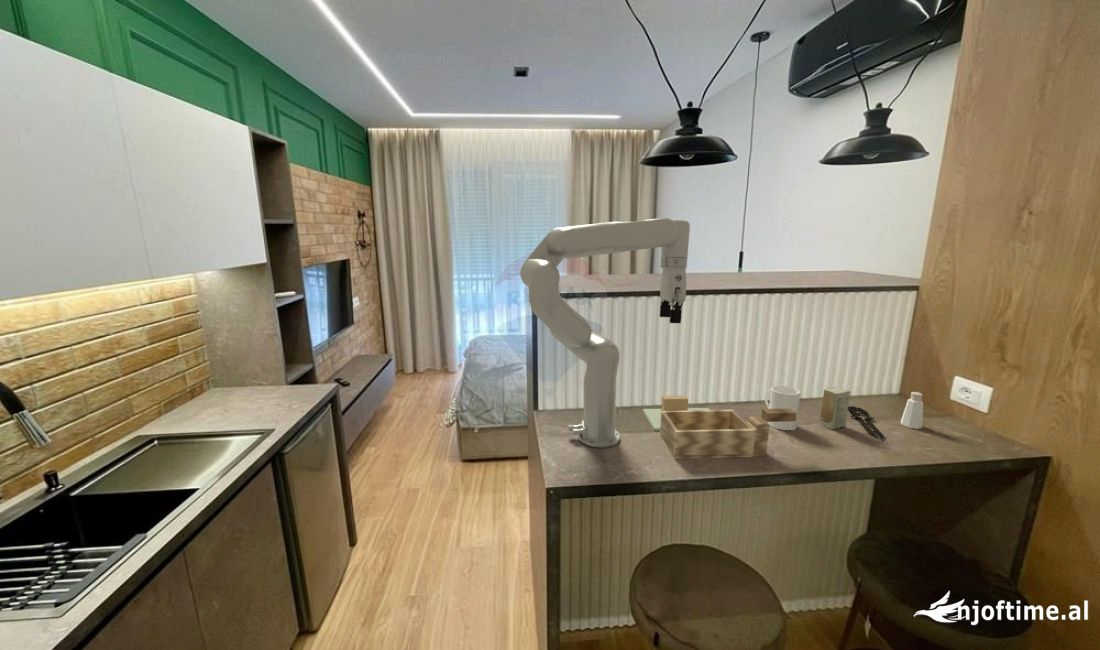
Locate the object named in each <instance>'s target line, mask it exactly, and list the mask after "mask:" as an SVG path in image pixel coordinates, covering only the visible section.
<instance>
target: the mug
mask: <svg viewBox="0 0 1100 650" xmlns="http://www.w3.org/2000/svg"><path fill="white" fill-rule="evenodd" d="M769 394H770V397H769V402H768V395H769ZM800 398H801V391H800V389H798V388H795V387H793V386H787V385H786V386H785V385H774V386H771V388H770V389H768V390H767V391H766V393H765V395H764V403H765V407H766V408H767V409H789V408H790V409H792V410H793V411H795V412H796V413H797V414H796V421H786V422H768V423H769V424H770V426H769V427H771V428H773V427H774V428H773V429H777V430H779V429H780V431H785V430H788V432H789V430H791V431H795V430H797V427H798V425H797V423H798V413H799V405H800Z"/></svg>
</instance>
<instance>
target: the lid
mask: <svg viewBox="0 0 1100 650" xmlns="http://www.w3.org/2000/svg"><path fill="white" fill-rule="evenodd" d="M688 405H689V398H688V397H687V395H685V394H684V395H683V394H682V395H661V408H643V409H642V413H643V414H644V415H645V417H646V419H647V420H648V422H649V424H650V426H651V428H652V429H653V431H654V432H660V422H661V411H690V410H711V409H710V408H709V407H696V408H695V407H688Z"/></svg>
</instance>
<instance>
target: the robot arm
mask: <svg viewBox="0 0 1100 650" xmlns="http://www.w3.org/2000/svg"><path fill="white" fill-rule="evenodd" d="M690 225H691V224H690V222H689V221H688V220H682V219H681V220H679V219H677V220H676V219H675V220H672V219H670V218H668V217H667V218H666V217H660V218H658V217H657V218H651V219H650V218H649V219H644V220H639V221H609V222H607V221H605V222H598V223H591V224H580V225H571V226H564V227H563V226H562V227H561V226H560V227H555V228H554V229H551V230H550V231H549V232H548V233H547V234H546V235H545V236H544V238H543V239H542V240H541V241H540V242H539V243H538V245H537V246H536V247H535V248H534V249H533V251H532V252H531V253H530V254H529V256H528V257H527V258H526V260H525V261H524V262H523V264H522V265H521V268H520V279H521V281H522V283H523V284H524V285H525V286H527V287H528V301H529V306H530V308H531V310H532V312H533V315H535V316H536V317H537V318H538V319H539V320H540V321H541V323H543V324H544V325H545V326H546V327H547V328H548V329H549V331H550V334H551V335H552V336H553V337H554V339H556V340H557V341H558V342H559V343H560V344H561V345H562V346H564V347H565V348H567V349H568V350H569V351H570V352H571V353H572V354H574V356H576V357H577V358H578V359H579V360H581V361H582V362H584V363H585V364H586V369H585V373H584V378H583V420H581V423H578V424H567V425H568V428H567V429H568V432H572V434H573V435H578V440H579V441H580V442H581V443H582V444H584V445H586V446H589V447H592V448H610V447H613V446H616V445H617V444H618V443H619V442H620V440H621V434H620V433H619V431H618V430H616V404H617V403H616V401H617V400H616V396H617V389H616V388H617V376H618V375H617V374H618V368H619V364H620V351H619V348H618V346H617V345H616V343H615V342H613V341H612V340H611V339H609V338H608V337H605V336H604V335H601V334H599V333H598V332H596V331H594V330H593V328H592V326H591V325H590V323H589V322H588V320H587V319H586V318H585V317H584V316H583V315H581V314H580V313H579V312H578V311H576V310H575V309H574V308H573V307H572V306H570V304H569V303H567V301H566V300H565V299H564V298H563V297H562V296H561V294H560V291H559V289H560V281H561V279H560V277H561V276H560V275H561V274H560V271H559V269H558V267H559V265H560V264H561V262H562V261H563V260H564V259H568V260H569V259H576V258H586V257H592V256H601V255H609V254H618V253H623V252H631V251H639V250H649V249H654V248H655V249H656V248H661V252H660V253H661V254H660V267H659V268H661V269H662V271H661V277H660V278H661V280H660V293H659V294H660V302H659V304H660V305H659V317H660V318H669V323H670V324H682V314H683V313H682V312H683V305H684V303H685V302H686V299H687V270H686V269H688V255H689V243H690V242H689V241H690V229H691V226H690Z"/></svg>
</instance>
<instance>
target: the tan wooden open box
mask: <svg viewBox="0 0 1100 650" xmlns="http://www.w3.org/2000/svg"><path fill="white" fill-rule="evenodd" d="M769 425H770V424H769V423H768V422H767V421H765V420H764V419H763V418H762V416H748V421H746V420H745V419H744V418H742V417H741V416H740V415H739V414H738V413H737V412H736V411H735V410H733V409H710V410H690V411H661V422H660V431H659V436H660V438H661V439H662V441H663V443H664V445H665V446H666V448H667V449H668V451H669V453H670V454H671V456H672V458H673V459H674V460H678V459H679V460H680V459H681V460H683V459H684V460H687V459H690V460H691V459H718V458H719V459H722V458H724V459H725V458H727V459H729V458H753V457H766V456H767V453H768V452H767V450H768V442H769V434H770V426H769Z"/></svg>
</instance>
